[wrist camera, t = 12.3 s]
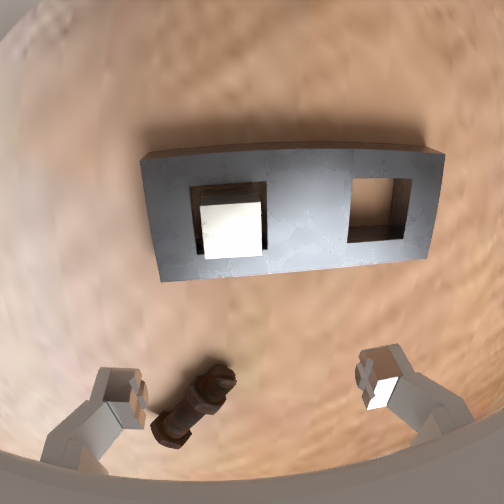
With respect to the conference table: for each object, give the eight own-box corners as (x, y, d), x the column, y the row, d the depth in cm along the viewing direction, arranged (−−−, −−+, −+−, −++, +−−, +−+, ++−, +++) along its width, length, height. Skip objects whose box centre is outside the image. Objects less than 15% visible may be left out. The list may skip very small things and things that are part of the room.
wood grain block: (252, 181, 26) (260, 202, 21) (254, 226, 28) (261, 255, 23) (202, 184, 25) (199, 206, 21) (206, 229, 27) (205, 259, 23)
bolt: (229, 352, 37) (174, 413, 42) (197, 354, 33) (144, 416, 38) (254, 392, 34) (191, 446, 38) (222, 398, 30) (162, 453, 35)
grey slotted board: (426, 146, 25) (445, 154, 23) (412, 243, 30) (426, 258, 27) (148, 152, 24) (140, 160, 21) (165, 263, 28) (161, 282, 26)
